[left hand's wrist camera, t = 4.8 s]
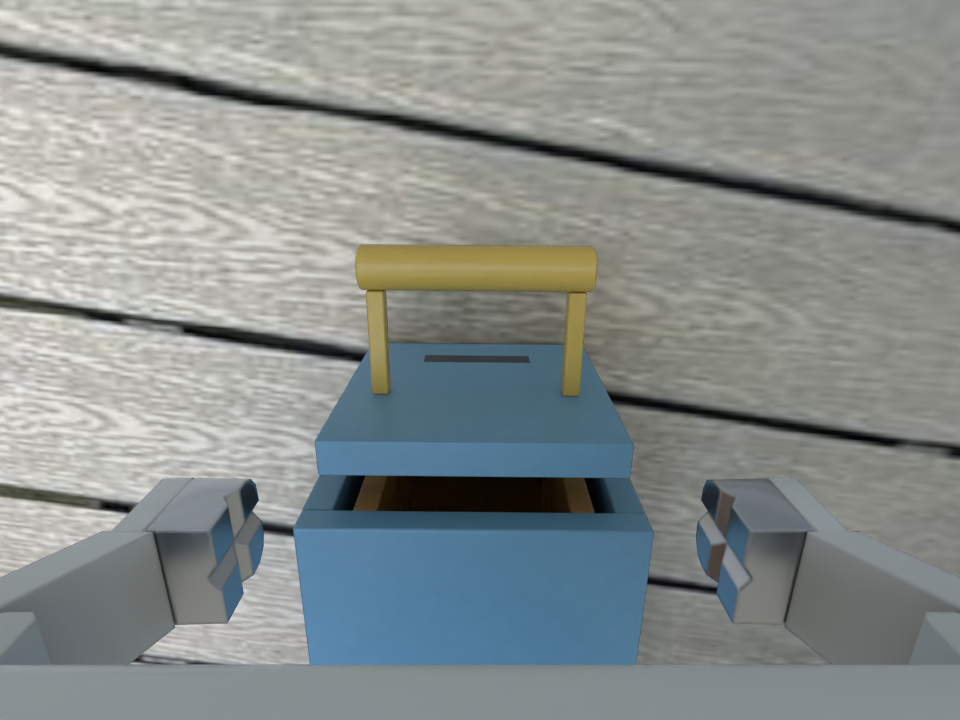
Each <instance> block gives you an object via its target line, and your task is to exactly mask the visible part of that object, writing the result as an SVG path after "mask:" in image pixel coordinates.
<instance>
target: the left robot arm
mask: <svg viewBox="0 0 960 720" xmlns="http://www.w3.org/2000/svg"><path fill="white" fill-rule="evenodd" d="M258 501H259V499H258V494H257V489H256V484H255V483H254V482H253V481H252V480H251V479H221V478H196V479H195V478H167V479H163V480H161V481H160V482H159V483H158V484H157V485H156V486H155V487H154V488H153V490H152V491H151V492H150V493H149V494H148V495H147V496H146V497H145V498H144V499H143V500H142V501H141V502H140V503H139V504H138V505H137V506H136V507H135V508H134V509H133V510H132V511H131V512H130V513H129V514H128V515H127V516H126V517H125V518H124V519H123V520H122V521H121V522H120V523H119V524H118V525H117V526H116V527H115V528H114V529H113V530H112V531H102V532H100V533H97V534H95V535H93V536H91V537H89V538H86V539H84V540H82V541H80V542H78V543H75V544H73V545H71V546H69V547H67V548H64V549H62V550H60V551H58V552H56V553H53V554H51V555H49V556H47V557H45V558H42V559H40V560H38V561H36V562H33V563H31V564H29V565H27V566H25V567H22V568H20V569H18V570H16V571H14V572H11V573H9V574H7V575H5V576H3V577H0V720H960V578H959V577H957V576H955V575H953V574H951V573H948V572H946V571H944V570H942V569H940V568H937V567H935V566H933V565H931V564H929V563H926V562H924V561H922V560H920V559H918V558H915V557H913V556H911V555H909V554H907V553H904V552H902V551H900V550H898V549H896V548H893V547H891V546H889V545H887V544H885V543H882V542H880V541H878V540H876V539H874V538H871V537H869V536H867V535H865V534H863V533H860V532H858V531H848V530H847V529H846V528H845V527H844V526H843V525H842V524H841V523H840V522H839V521H838V520H837V519H836V518H835V517H834V516H833V515H832V514H831V513H830V512H829V511H828V510H827V509H826V508H825V507H824V506H823V505H822V504H821V503H820V502H819V501H818V500H817V499H816V498H815V496H814V495H813V494H812V493H811V492H810V491H809V490H808V489H807V488H806V487H805V486H804V485H803V484H802V483H801V482H800V481H799V480H797V479H794V478H791V477H789V478H763V479H726V480H707V481H706V483H705V486H704V488H703V493H702V499H701V501H702V502H703V504H704V505H705V507H706V509H707V510H708V511H707V513H706V514H705V515H704V516H703V517H702V518H701V519H700V520H699V521H698V525H697V534H696V542H697V553H698V556H699V559H700V563H701V565H702V567H703V569H704V571H705V573H706V575H708V576H709V577H711V578H712V579H714V580H715V581H717V582H718V587H717V593H716V594H717V595H718V597H719V599H720V601H721V603H722V605H723V606H724V608H725V610H726V612H727V614H728V616H729V617H730V619H731V621H732V623H739V624H775V625H785V628H786V629H788V630H789V631H790V632H791V633H793V634H794V635H795V636H797V637H798V638H799V639H800V640H802V641H803V642H804V643H805V644H807V645H808V646H809V647H810V648H812V649H813V650H814V651H815V652H817V653H818V654H819V655H820V656H822V657H823V658H824V659H825V660H827V661H828V662H829V663H830V664H832V665H128V664H130V663H131V662H132V661H133V660H135V659H136V658H137V657H139V656H140V655H141V654H142V653H144V652H145V651H146V650H147V649H149V648H150V647H151V646H152V645H154V644H155V643H156V642H157V641H159V640H160V639H161V638H162V637H164V636H165V635H166V634H167V633H169V632H170V631H171V630H173V629H174V628H175V625H185V624H219V623H228V621H229V619H230V618H231V616H232V614H233V612H234V610H235V608H236V606H237V605H238V603H239V601H240V599H241V597H242V595H243V594H244V593H243V587H242V582H243V581H245V580H246V579H248V578H249V577H251V576H252V575H254V573H255V571H256V569H257V567H258V565H259V563H260V559H261V555H262V551H263V545H264V532H263V525H262V521H261V520H260V519H259V518H258V517H257V516H256V515H255V514H254V513H253V511H252V510H253V509H254V507H255V505H256V504H257V502H258Z"/></svg>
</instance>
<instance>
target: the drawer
mask: <svg viewBox="0 0 960 720" xmlns="http://www.w3.org/2000/svg"><path fill="white" fill-rule="evenodd" d="M355 269H356V279H357V283H358V286H359V288H360V289H362V290H367V292H366V302H367V318H368V334H369V350H368V351H367V353H366V355H365V357H364V358H363V360H362V362H361V363H360V365H359V367H358V368H357V370H356V372H355V374H354V375H353V377H352V379H351V380H350V382H349V384H348V386H347V387H346V389H345V391H344V392H343V394H342V396H341V397H340V399H339V401H338V403H337V404H336V406H335V408H334V409H333V411H332V413H331V415H330V416H329V418H328V420H327V421H326V423H325V425H324V426H323V428H322V430H321V432H320V433H319V435H318V437H317V438H316V440H315V448H316V458H317V468H318V474H319V475H365V479H364V482H363V484H362V487H361V490H360V493H359V495H358V498H357V501H356V503H355V506H354V509H353V511H430V512H527V513H595V512H594V508H593V505H592V502H591V499H590V495H589V492H588V489H587V486H586V482H585V479H584V478H630V474H631V465H632V456H633V447H634V444H633V442H632V440H631V438H630V436H629V434H628V432H627V430H626V428H625V426H624V425H623V423H622V421H621V419H620V417H619V415H618V413H617V411H616V409H615V407H614V405H613V403H612V401H611V399H610V397H609V395H608V394H607V392H606V390H605V388H604V386H603V384H602V382H601V380H600V378H599V376H598V374H597V372H596V370H595V368H594V366H593V364H592V362H591V361H590V359H589V357H588V355H587V353H586V351H585V349H584V347H583V341H584V327H585V313H586V300H587V294H586V292H591V291H593V290H594V287H595V284H596V279H597V253H596V250H595V248H594V247H592V246H491V245H379V244H361V245H359V246H358V249H357V252H356V260H355ZM386 290H431V291H541V292H567V299H566V316H565V332H564V345H538V344H432V343H389V341H388V321H387V300H386Z"/></svg>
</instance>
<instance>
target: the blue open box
mask: <svg viewBox="0 0 960 720" xmlns="http://www.w3.org/2000/svg"><path fill="white" fill-rule="evenodd" d="M364 479H365V475H320V476H319V478H318V480H317V482H316V484H315V486H314V488H313V490H312V492H311V494H310V496H309V498H308V500H307V502H306V504H305V506H304V508H303V511H302V512H301V514H300V516H299V518H298V520H297V522H296V524H295V526H294V528H293V532H294V540H295V548H296V556H297V564H298V572H299V580H300V588H301V596H302V604H303V612H304V620H305V628H306V636H307V644H308V652H309V660H310V665H636V661H637V654H638V646H639V639H640V631H641V624H642V616H643V609H644V602H645V594H646V587H647V579H648V572H649V565H650V557H651V550H652V542H653V535H654V532H653V530H652V527H651V525H650V523H649V521H648V518H647V516H646V515H645V512H644V510H643V507H642V505H641V503H640V501H639V498H638V496H637V494H636V492H635V490H634V487H633V485H632V483H631V481H630V478H584V479H585V482H586V486H587V489H588V492H589V495H590V499H591V502H592V505H593V508H594V512H595V513H527V512H430V511H353V509H354V506H355V503H356V501H357V498H358V495H359V493H360V490H361V487H362V484H363V482H364Z"/></svg>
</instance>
